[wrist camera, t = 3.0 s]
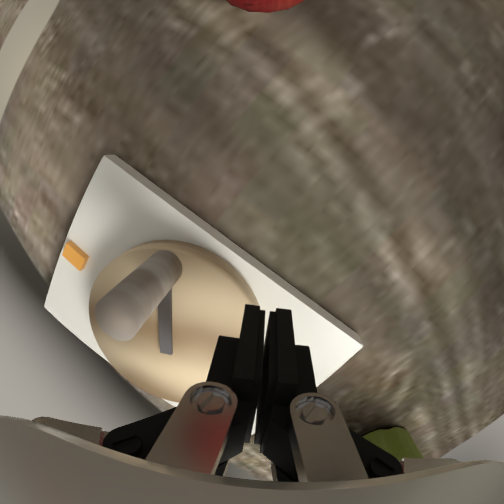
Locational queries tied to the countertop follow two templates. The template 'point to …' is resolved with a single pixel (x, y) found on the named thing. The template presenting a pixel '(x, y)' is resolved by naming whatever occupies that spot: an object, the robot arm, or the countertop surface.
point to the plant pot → (395, 442)
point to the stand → (182, 229)
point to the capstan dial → (166, 313)
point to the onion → (264, 5)
